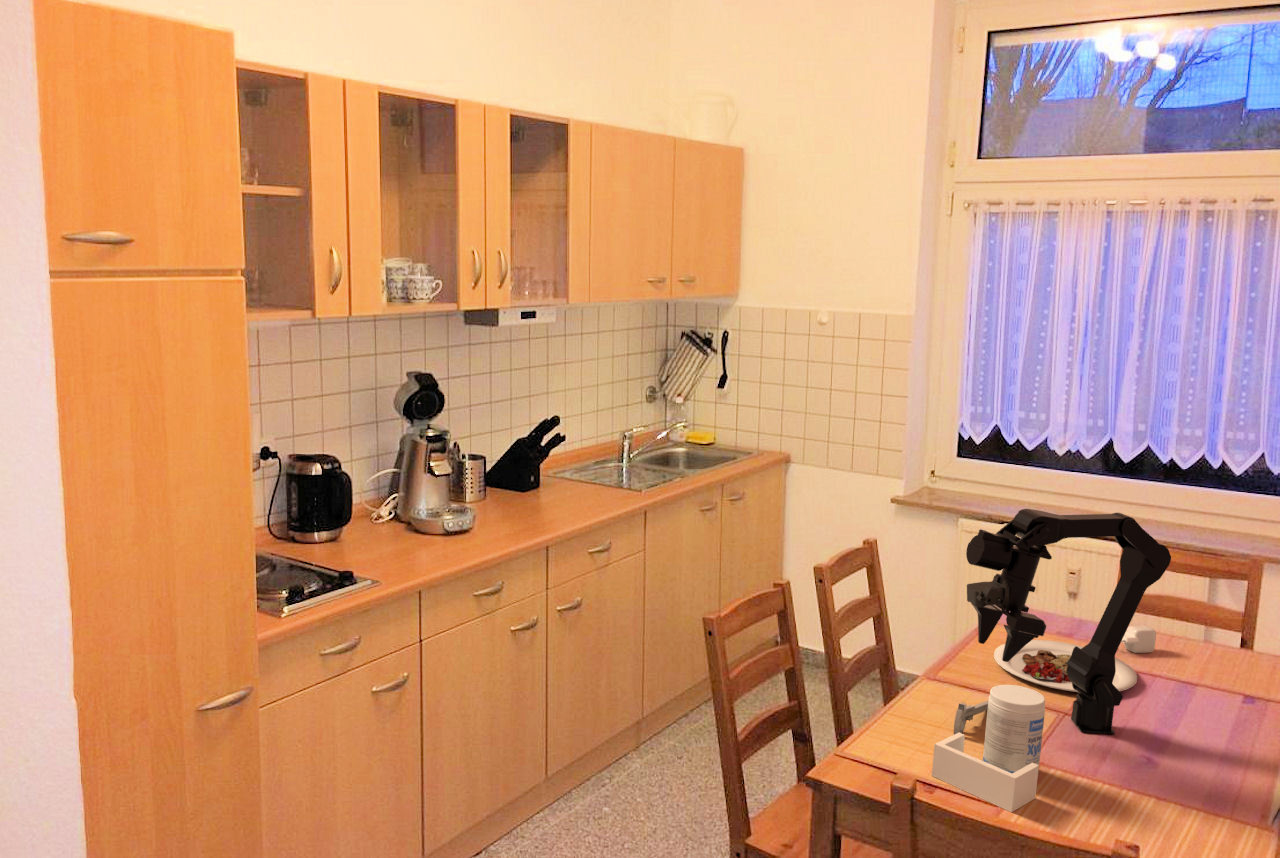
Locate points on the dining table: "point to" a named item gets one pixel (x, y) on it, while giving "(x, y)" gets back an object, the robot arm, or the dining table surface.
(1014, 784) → the cradle
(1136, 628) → the power adapter
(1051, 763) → the dining table surface
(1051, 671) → the plated food
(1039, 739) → the supplement tub
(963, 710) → the caliper
